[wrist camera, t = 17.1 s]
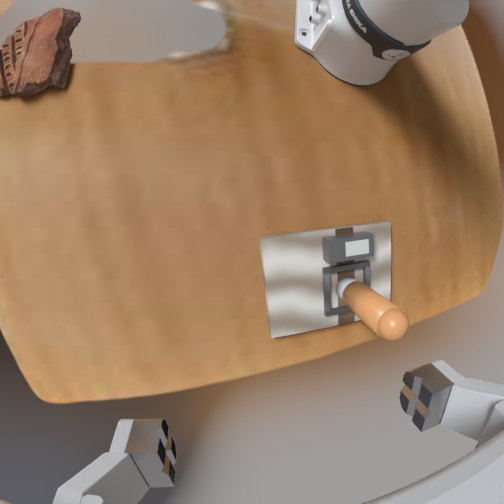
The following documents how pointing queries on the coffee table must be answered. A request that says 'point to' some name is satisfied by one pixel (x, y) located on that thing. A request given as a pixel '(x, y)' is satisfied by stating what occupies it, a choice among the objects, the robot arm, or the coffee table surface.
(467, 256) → the coffee table surface
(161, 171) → the coffee table surface
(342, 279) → the tan rounded rod
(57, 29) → the pottery shard
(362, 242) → the block
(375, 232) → the metal mounting plate
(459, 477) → the robot arm
